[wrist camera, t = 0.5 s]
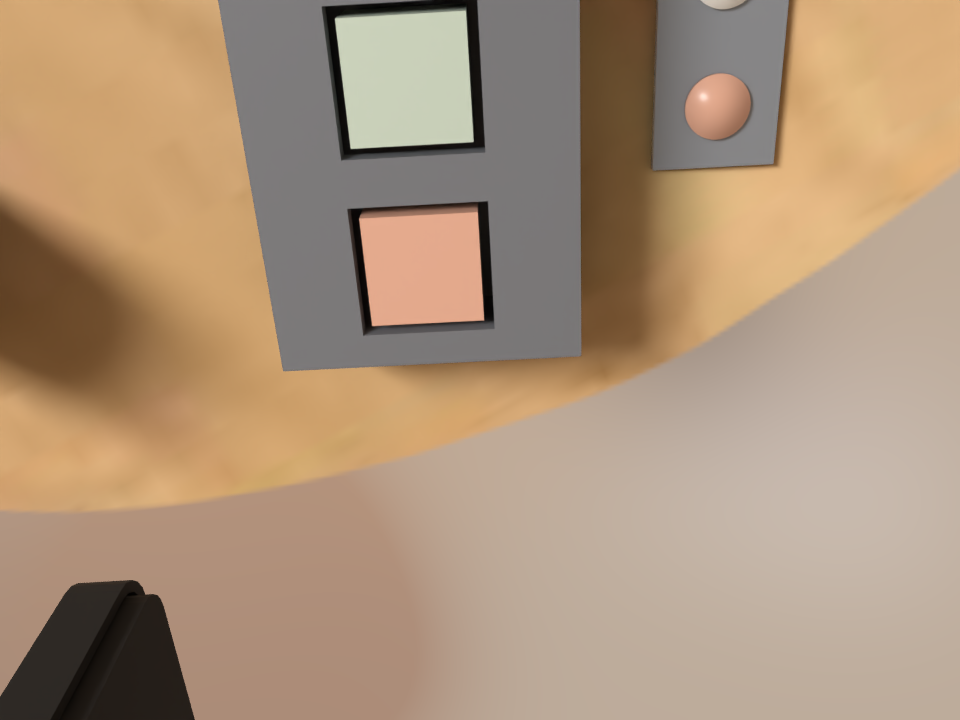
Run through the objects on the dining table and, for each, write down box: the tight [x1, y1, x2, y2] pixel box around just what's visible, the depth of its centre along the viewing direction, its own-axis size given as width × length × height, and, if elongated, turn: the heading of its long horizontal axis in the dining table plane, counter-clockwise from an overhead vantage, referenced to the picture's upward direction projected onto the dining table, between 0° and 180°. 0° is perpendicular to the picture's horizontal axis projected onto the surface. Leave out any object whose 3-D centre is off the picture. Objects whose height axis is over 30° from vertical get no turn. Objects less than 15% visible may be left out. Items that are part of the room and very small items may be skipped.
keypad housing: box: [218, 0, 581, 371], centre depth 34 cm, size 22×12×5 cm, turn 3°
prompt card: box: [651, 0, 789, 171], centre depth 35 cm, size 10×5×1 cm, turn 3°
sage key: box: [335, 3, 474, 149], centre depth 32 cm, size 4×4×2 cm
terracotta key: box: [359, 202, 484, 326], centre depth 36 cm, size 4×4×2 cm
